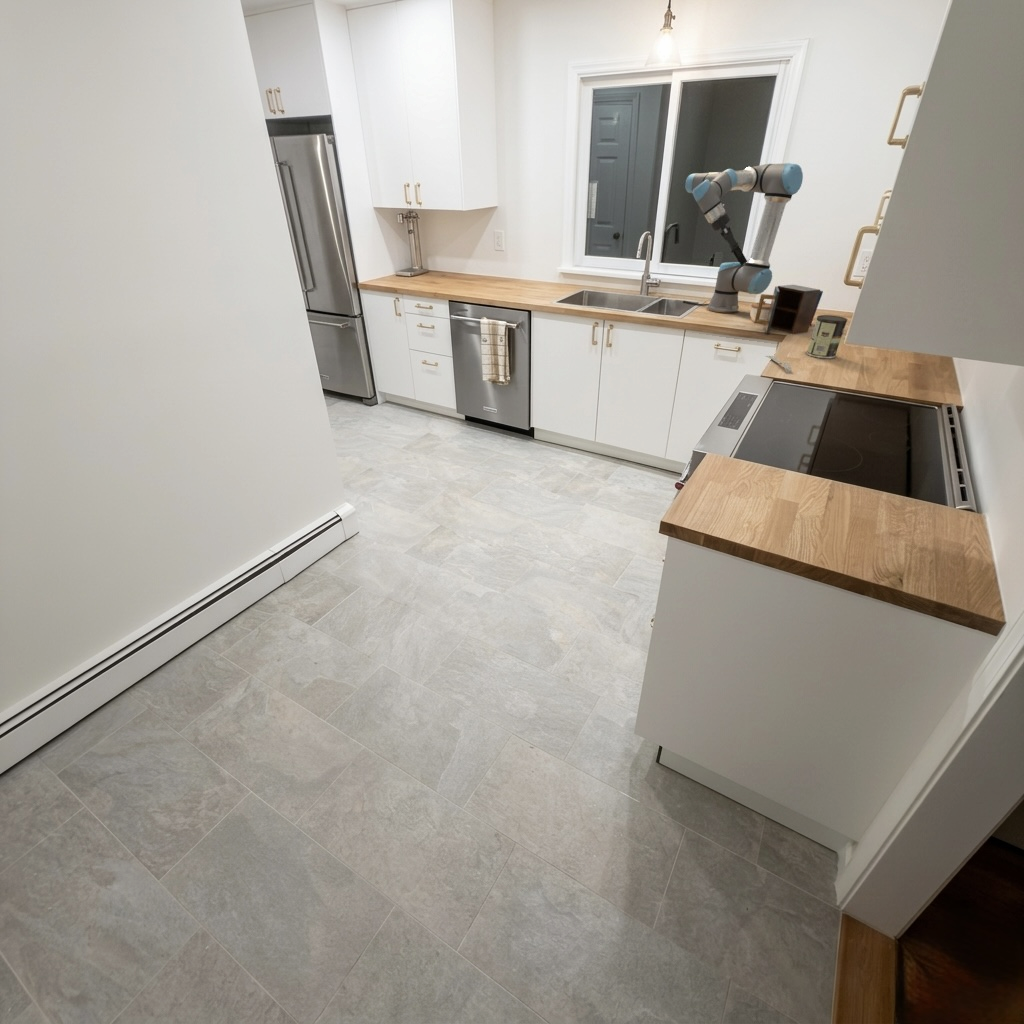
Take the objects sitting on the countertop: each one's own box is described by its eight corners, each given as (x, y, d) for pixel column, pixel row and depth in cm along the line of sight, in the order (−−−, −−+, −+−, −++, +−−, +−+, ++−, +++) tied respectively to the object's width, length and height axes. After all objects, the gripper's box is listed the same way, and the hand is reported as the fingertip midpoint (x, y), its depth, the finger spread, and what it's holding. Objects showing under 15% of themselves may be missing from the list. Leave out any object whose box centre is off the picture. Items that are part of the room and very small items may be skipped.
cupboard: (792, 334, 238) (804, 291, 228) (767, 327, 249) (777, 285, 239) (807, 332, 242) (820, 289, 232) (782, 325, 252) (793, 284, 243)
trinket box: (773, 324, 253) (778, 303, 248) (749, 323, 255) (754, 302, 250) (768, 319, 262) (774, 299, 257) (745, 318, 264) (750, 298, 259)
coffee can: (830, 352, 213) (842, 315, 206) (838, 359, 205) (851, 321, 197) (803, 350, 215) (814, 314, 208) (809, 357, 206) (821, 319, 199)
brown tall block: (808, 326, 251) (819, 292, 243) (794, 324, 255) (804, 290, 247) (815, 324, 254) (825, 291, 246) (801, 322, 259) (811, 289, 251)
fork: (770, 362, 208) (771, 355, 207) (793, 373, 189) (795, 365, 188) (762, 362, 208) (764, 355, 207) (785, 373, 189) (787, 365, 188)
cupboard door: (752, 332, 239) (762, 290, 229) (751, 325, 250) (761, 285, 241) (768, 334, 237) (779, 291, 228) (767, 327, 248) (777, 286, 239)
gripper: (728, 212, 214) (754, 258, 219) (724, 211, 234) (748, 253, 240) (710, 225, 218) (736, 270, 223) (708, 223, 238) (732, 264, 243)
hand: (743, 261), depth 231 cm, fingers open, 13 cm apart
